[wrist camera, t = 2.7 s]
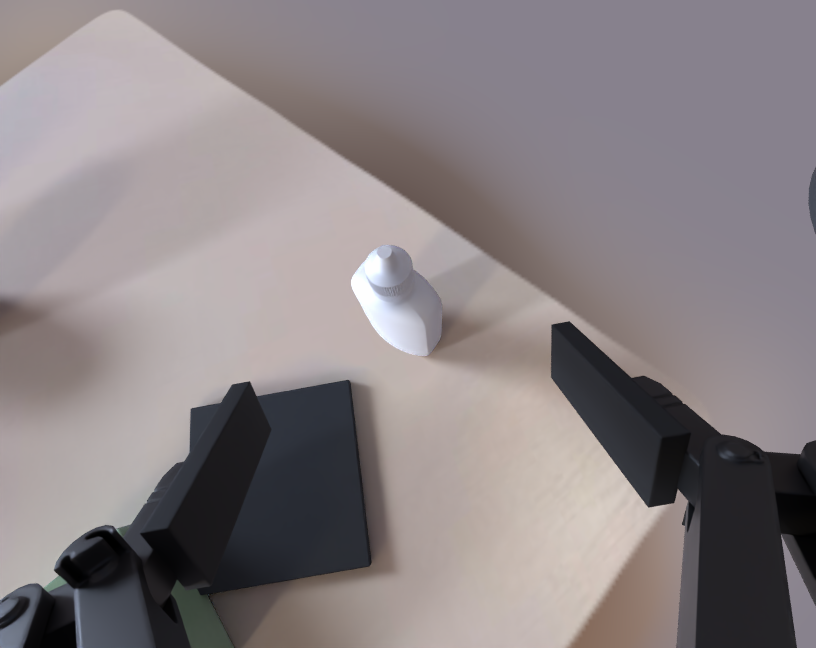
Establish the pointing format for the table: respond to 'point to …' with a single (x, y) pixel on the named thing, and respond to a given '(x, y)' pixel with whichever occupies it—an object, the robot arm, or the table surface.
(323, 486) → the mat
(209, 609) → the green button base
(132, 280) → the table surface
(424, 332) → the eye dropper bottle
